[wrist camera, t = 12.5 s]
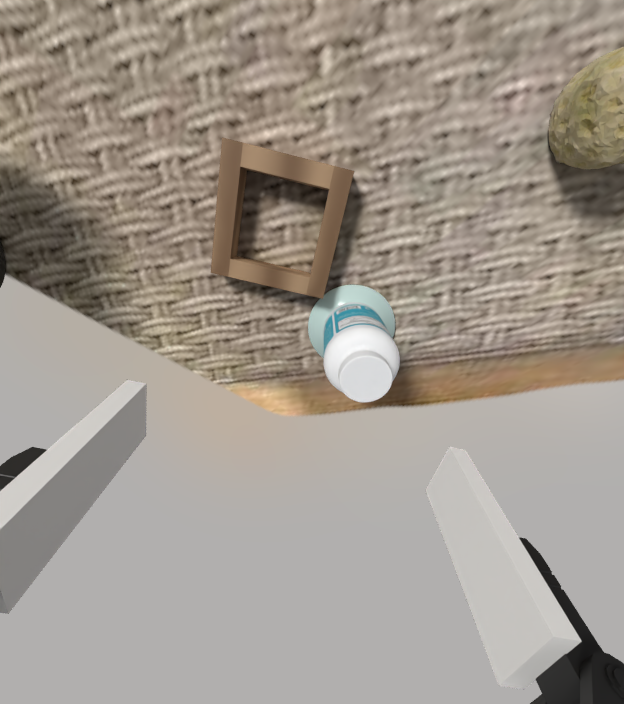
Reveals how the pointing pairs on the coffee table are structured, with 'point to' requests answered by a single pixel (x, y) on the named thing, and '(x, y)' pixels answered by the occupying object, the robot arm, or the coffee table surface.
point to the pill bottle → (359, 352)
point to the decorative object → (591, 116)
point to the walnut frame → (230, 208)
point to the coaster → (341, 297)
